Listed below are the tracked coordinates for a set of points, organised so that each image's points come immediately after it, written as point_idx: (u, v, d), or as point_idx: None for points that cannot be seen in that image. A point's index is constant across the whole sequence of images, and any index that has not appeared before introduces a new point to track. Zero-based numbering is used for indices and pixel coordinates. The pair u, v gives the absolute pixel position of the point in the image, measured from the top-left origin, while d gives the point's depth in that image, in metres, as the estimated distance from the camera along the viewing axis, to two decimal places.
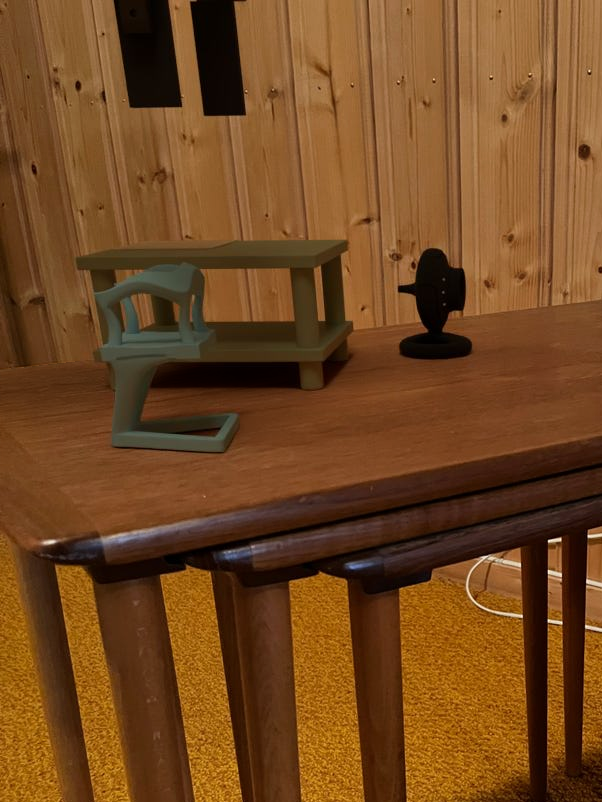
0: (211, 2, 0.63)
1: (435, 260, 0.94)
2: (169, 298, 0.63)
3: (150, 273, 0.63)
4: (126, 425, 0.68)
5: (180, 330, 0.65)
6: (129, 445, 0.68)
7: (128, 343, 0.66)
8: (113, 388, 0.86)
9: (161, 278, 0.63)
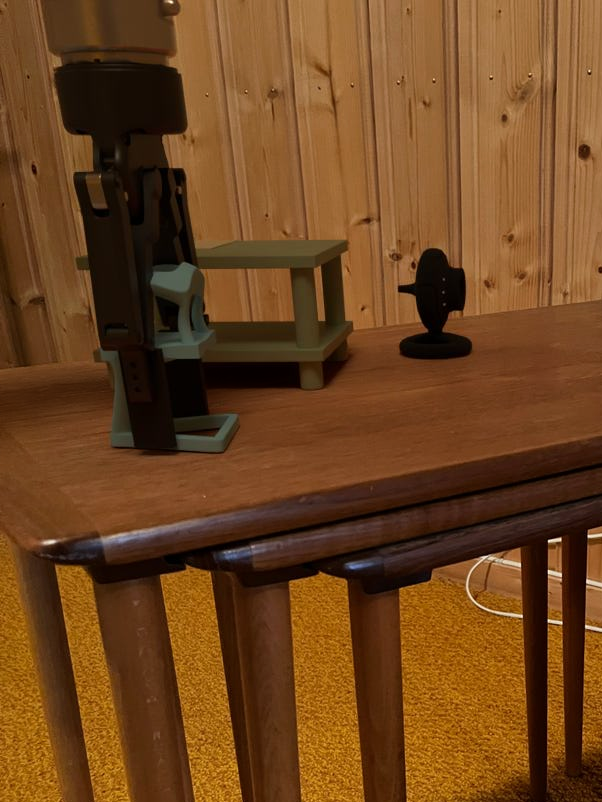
0: None
1: (435, 260, 0.94)
2: (168, 298, 0.63)
3: None
4: (125, 425, 0.68)
5: (179, 330, 0.65)
6: (128, 445, 0.68)
7: None
8: (113, 388, 0.86)
9: (161, 278, 0.63)
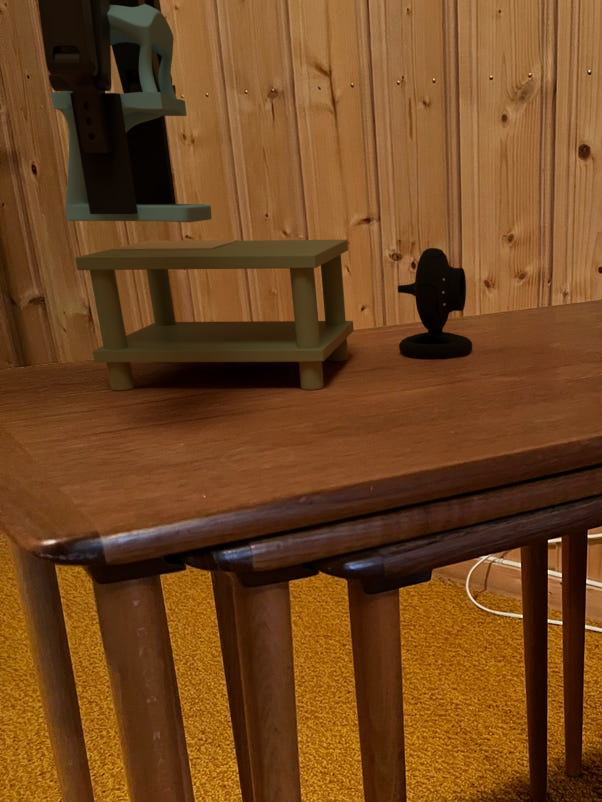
0: None
1: (435, 260, 0.94)
2: (127, 34, 0.57)
3: None
4: (82, 194, 0.61)
5: (140, 76, 0.58)
6: (85, 218, 0.62)
7: None
8: (113, 388, 0.86)
9: (119, 10, 0.56)
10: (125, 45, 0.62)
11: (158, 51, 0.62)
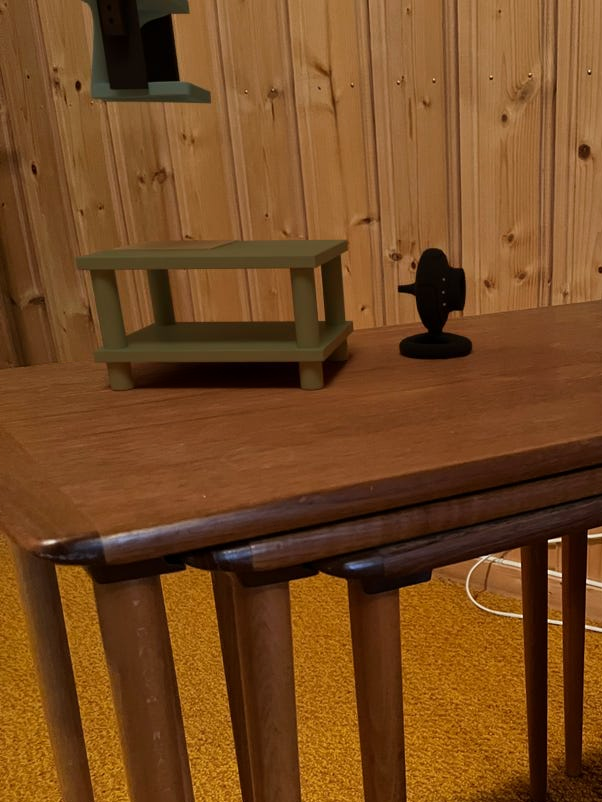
0: None
1: (435, 260, 0.94)
2: None
3: None
4: (104, 75, 0.75)
5: None
6: (106, 95, 0.75)
7: None
8: (113, 388, 0.86)
9: None
10: None
11: None
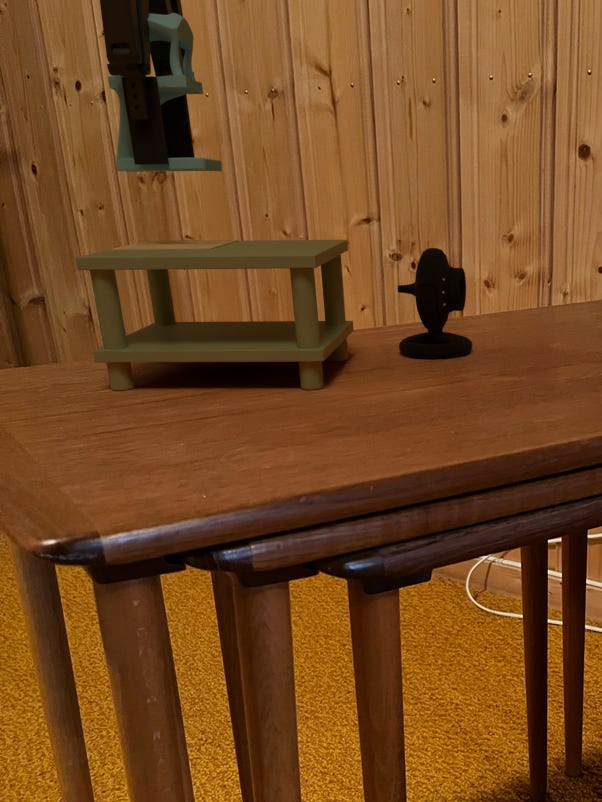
0: None
1: (435, 260, 0.94)
2: (162, 34, 0.80)
3: None
4: (128, 151, 0.85)
5: (171, 64, 0.81)
6: (130, 168, 0.85)
7: None
8: (113, 388, 0.86)
9: (156, 17, 0.80)
10: (158, 43, 0.85)
11: (182, 46, 0.85)
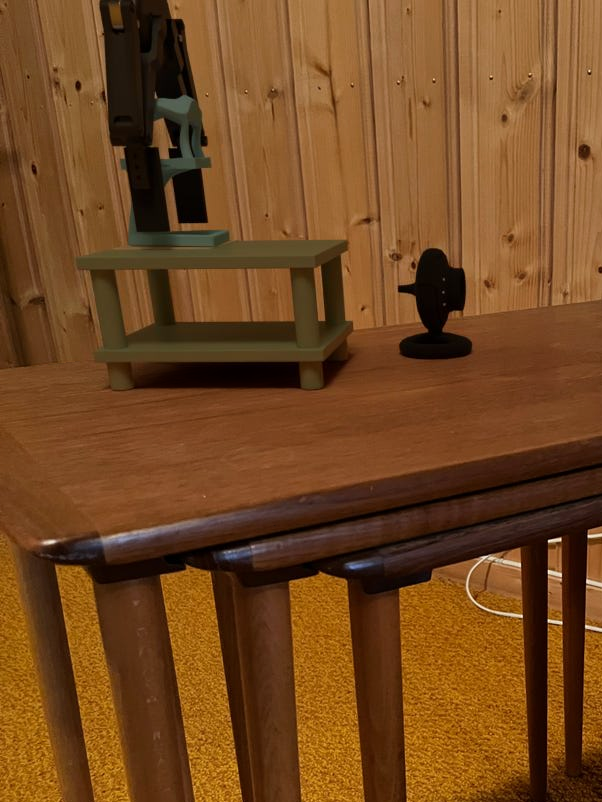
0: None
1: (435, 260, 0.94)
2: (172, 118, 0.82)
3: (158, 99, 0.82)
4: None
5: (181, 146, 0.84)
6: (142, 244, 0.88)
7: None
8: (113, 388, 0.86)
9: (166, 102, 0.82)
10: None
11: (191, 124, 0.87)
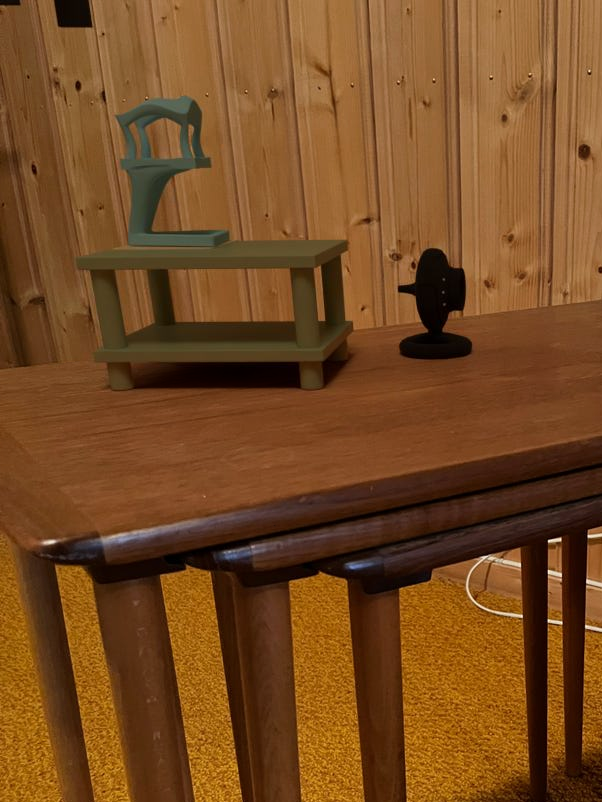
0: None
1: (435, 260, 0.94)
2: (172, 118, 0.82)
3: (158, 99, 0.82)
4: (139, 227, 0.87)
5: (181, 146, 0.84)
6: (142, 244, 0.88)
7: None
8: (113, 388, 0.86)
9: (166, 102, 0.82)
10: None
11: (191, 124, 0.87)
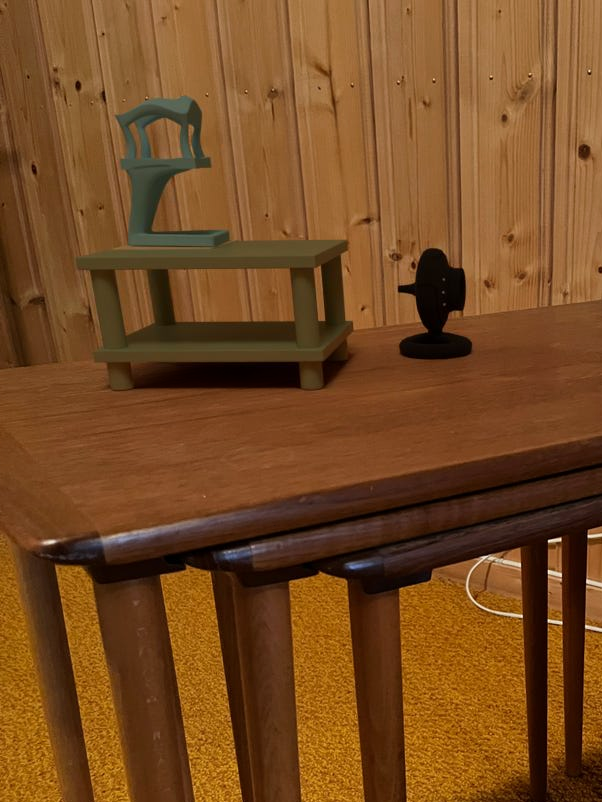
0: None
1: (435, 260, 0.94)
2: (172, 118, 0.82)
3: (158, 99, 0.82)
4: (139, 227, 0.87)
5: (181, 146, 0.84)
6: (142, 244, 0.88)
7: None
8: (113, 388, 0.86)
9: (166, 102, 0.82)
10: None
11: (191, 124, 0.87)
